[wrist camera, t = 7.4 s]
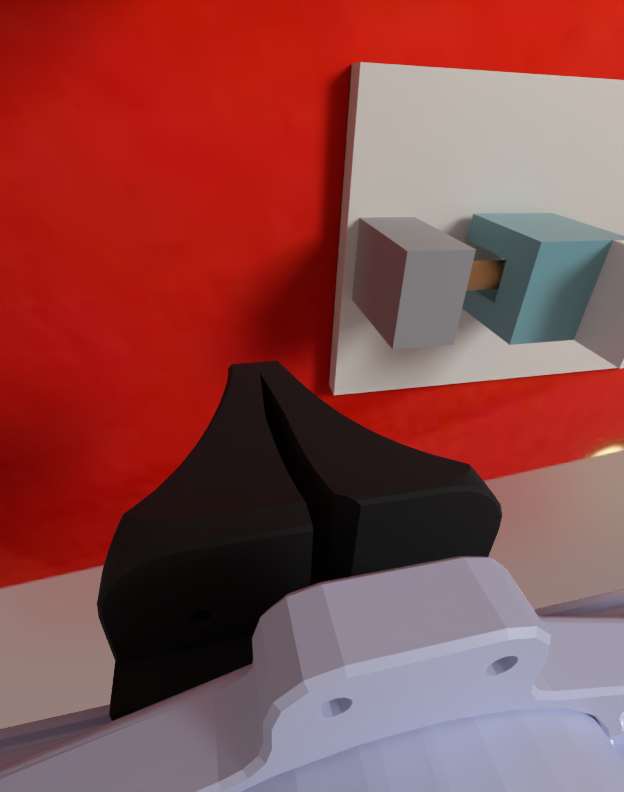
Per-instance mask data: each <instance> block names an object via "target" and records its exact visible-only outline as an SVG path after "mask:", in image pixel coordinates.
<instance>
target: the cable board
mask: <svg viewBox="0 0 624 792" xmlns="http://www.w3.org/2000/svg"><path fill="white" fill-rule="evenodd" d="M506 213H554V214H557V215H560V216H563V217H566V218H569V219H573V220H576V221H579V222H582V223H585V224H588V225H591V226H594V227H598V228H601V229H604V230H607V231H610V232H613V233H616V234H619V235H622V236H624V80H614V79H599V78H584V77H570V76H555V75H540V74H526V73H511V72H496V71H482V70H467V69H452V68H438V67H423V66H408V65H394V64H379V63H364V62H359V63H354V64H352V70H351V84H350V98H349V112H348V126H347V140H346V154H345V168H344V182H343V196H342V210H341V224H340V238H339V252H338V266H337V280H336V294H335V308H334V322H333V336H332V350H331V364H330V378H329V386H330V388H331V390H332V392H333V394H334V395H342V394H352V393H363V392H373V391H383V390H394V389H404V388H414V387H425V386H435V385H445V384H456V383H466V382H476V381H487V380H497V379H507V378H518V377H528V376H538V375H549V374H559V373H569V372H580V371H590V370H600V369H611V368H618V367H616V366H614V365H613V364H611V363H610V362H608V361H606V360H605V359H603V358H602V357H600V356H599V355H597V354H595V353H594V352H592V351H591V350H589V349H587V348H586V347H584V346H583V345H581V344H579V343H578V342H576V341H575V340H565V341H553V342H540V343H527V344H515V345H509V344H508V343H506V342H505V341H504V340H503V339H501V338H500V337H499V336H497V335H496V334H495V333H493V332H492V331H491V330H490V329H488V328H487V327H486V326H484V325H483V324H482V323H480V322H479V321H478V320H477V319H475V318H474V317H473V316H471V315H470V314H469V313H467V312H466V311H465V310H464V309H462V307H463V302H464V298H465V294H466V291H473V290H494V289H499V285H500V281H501V278H502V274H503V270H504V267H505V263H506V259H504V258H502V257H500V256H498V255H496V254H494V253H492V252H490V251H488V250H486V249H484V248H482V247H480V246H478V245H476V244H474V243H472V242H471V241H469V240H467V239H468V235H469V230H470V226H471V221H472V217H473V214H506Z"/></svg>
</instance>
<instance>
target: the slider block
mask: <svg viewBox="0 0 624 792" xmlns="http://www.w3.org/2000/svg"><path fill="white" fill-rule="evenodd" d="M467 240H469V241H471V242H472V243H474V244H476V245H478V246H480V247H482V248H484V249H486V250H488V251H490V252H492V253H494V254H496V255H498V256H500V257H502V258H504V259H506V263H505V267H504V270H503V274H502V278H501V281H500V285H499V289H494V290H473V291H466V294H465V298H464V302H463V307H462V309H464V310H465V311H466V312H467V313H469V314H470V315H471V316H473V317H474V318H475V319H477V320H478V321H479V322H480V323H482V324H483V325H484V326H486V327H487V328H488V329H490V330H491V331H492V332H493V333H495V334H496V335H497V336H499V337H500V338H501V339H503V340H504V341H505V342H506V343H508V344H509V345H515V344H527V343H540V342H553V341H565V340H575V341H576V342H578V343H579V344H581V345H583V346H584V347H586V348H587V349H589V350H591V351H592V352H594V353H595V354H597V355H599V356H600V357H602V358H603V359H605V360H606V361H608V362H610V363H611V364H613V365H614V366H616V367H618V368H624V236H622V235H619V234H616V233H613V232H610V231H607V230H604V229H601V228H598V227H594V226H591V225H588V224H585V223H582V222H579V221H576V220H573V219H569V218H566V217H563V216H560V215H557V214H554V213H506V214H473V217H472V221H471V226H470V230H469V235H468V239H467Z"/></svg>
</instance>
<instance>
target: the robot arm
mask: <svg viewBox="0 0 624 792" xmlns="http://www.w3.org/2000/svg"><path fill="white" fill-rule="evenodd" d="M228 373H229V374H228V380H227V384H226V388H225V391H224V393H223V396H222V399H221V401H220V404H219V406H218V408H217V410H216V412H215V414H214V416H213V418H212V420H211V422H210V424H209V426H208V428H207V429H206V431H205V433H204V434H203V436H202V437H201V439H200V440H199V442H198V443H197V445H196V446H195V447H194V449H193V450H192V451H191V452H190V454H189V455H188V456H187V458H186V459H185V460H184V461H183V462H182V464H181V465H180V466H179V467H178V468H177V469H176V470H175V471H174V472H173V473H172V474H171V475H170V476H169V477H168V478H167V479H166V480H165V481H164V482H163V483H162V484H161V485H160V486H159V487H158V488H157V489H156V490H155V491H154V492H152V493H151V494H150V495H148V496H147V497H146V498H144V499H143V500H142V501H141V502H139V503H138V504H137V505H135V506H134V507H133V508H132V509H130V510H129V511H127V512H126V513H125V514H124V515H123V516H122V518H121V520H120V523H119V525H118V527H117V530H116V532H115V534H114V537H113V540H112V542H111V545H110V548H109V551H108V554H107V557H106V560H105V564H104V568H103V572H102V577H101V583H100V589H99V595H98V601H97V607H98V615H99V619H100V622H101V624H102V627H103V630H104V632H105V635H106V638H107V640H108V643H109V645H110V648H111V651H112V653H113V656H114V658H115V669H114V677H113V686H112V694H111V702H110V705H106V706H102V707H97V708H93V709H88V710H84V711H79V712H75V713H70V714H66V715H61V716H57V717H52V718H48V719H44V720H39V721H35V722H30V723H26V724H21V725H17V726H13V727H8V728H4V729H0V792H624V589H623V590H618V591H614V592H609V593H605V594H600V595H596V596H592V597H587V598H583V599H578V600H574V601H569V602H565V603H561V604H556V605H551V606H547V607H543V608H538V609H533V608H532V606H531V605H530V603H529V602H528V600H527V599H526V597H525V596H524V594H523V593H522V591H521V590H520V589H519V587H518V586H517V584H516V583H515V581H514V580H513V578H512V577H511V575H510V574H509V572H508V571H507V569H506V568H505V567H503V566H502V565H501V564H499V563H498V562H497V561H495V560H494V559H492V558H490V557H488V556H489V553H490V551H491V548H492V545H493V543H494V540H495V538H496V535H497V533H498V530H499V527H500V522H501V518H502V512H501V505H500V503H499V502H498V500H497V499H496V497H495V496H494V495H493V493H492V492H491V491H490V489H489V488H488V487H487V485H486V484H485V482H484V481H483V480H482V479H481V477H480V476H479V475H478V474H477V473H476V471H475V470H474V469H473V468H472V467H471V466H470V465H469V464H466V463H462V462H458V461H455V460H451V459H447V458H443V457H439V456H435V455H432V454H428V453H425V452H422V451H419V450H417V449H414V448H411V447H408V446H405V445H403V444H400V443H397V442H395V441H392V440H390V439H388V438H386V437H383V436H381V435H379V434H377V433H375V432H373V431H371V430H369V429H367V428H365V427H363V426H361V425H359V424H357V423H356V422H354V421H352V420H351V419H349V418H347V417H345V416H344V415H342V414H341V413H339V412H338V411H336V410H335V409H333V408H332V407H330V406H329V405H328V404H326V403H325V402H323V401H322V400H321V399H320V398H318V397H317V396H316V395H314V394H313V393H312V392H311V391H310V390H308V389H307V388H306V387H305V386H304V385H303V384H302V383H301V382H299V381H298V380H297V379H296V378H295V377H294V376H293V375H292V374H291V373H290V372H289V371H288V370H287V369H286V368H285V367H284V366H282V365H281V364H280V363H279V362H278V361H270V362H257V363H244V364H232V365H231V366H230V367H229V368H228Z"/></svg>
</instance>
